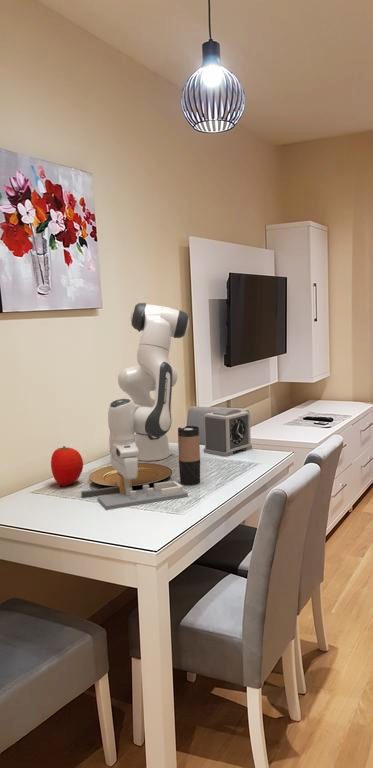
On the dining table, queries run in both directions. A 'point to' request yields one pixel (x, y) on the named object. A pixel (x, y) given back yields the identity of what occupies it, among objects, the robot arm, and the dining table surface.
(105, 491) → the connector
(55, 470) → the red apple
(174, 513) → the dining table surface
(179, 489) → the clip board
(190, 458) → the travel mug
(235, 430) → the alarm clock
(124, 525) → the dining table surface
